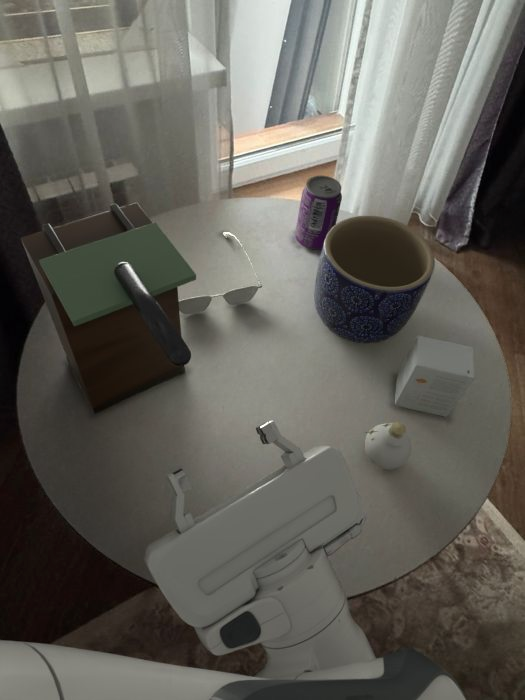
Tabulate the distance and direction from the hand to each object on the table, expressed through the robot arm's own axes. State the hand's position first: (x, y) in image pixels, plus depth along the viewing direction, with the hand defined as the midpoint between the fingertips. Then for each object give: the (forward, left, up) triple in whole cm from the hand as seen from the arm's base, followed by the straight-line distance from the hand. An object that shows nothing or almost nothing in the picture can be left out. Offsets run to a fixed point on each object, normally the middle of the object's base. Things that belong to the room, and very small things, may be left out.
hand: (221, 447), depth 46 cm
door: (+5, +15, +4) cm, 17 cm away
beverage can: (+52, +23, -21) cm, 60 cm away
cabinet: (+8, +26, -21) cm, 34 cm away
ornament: (+21, -10, -21) cm, 32 cm away
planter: (+41, +6, -21) cm, 46 cm away
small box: (+34, -10, -21) cm, 41 cm away
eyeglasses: (+31, +32, -21) cm, 49 cm away
